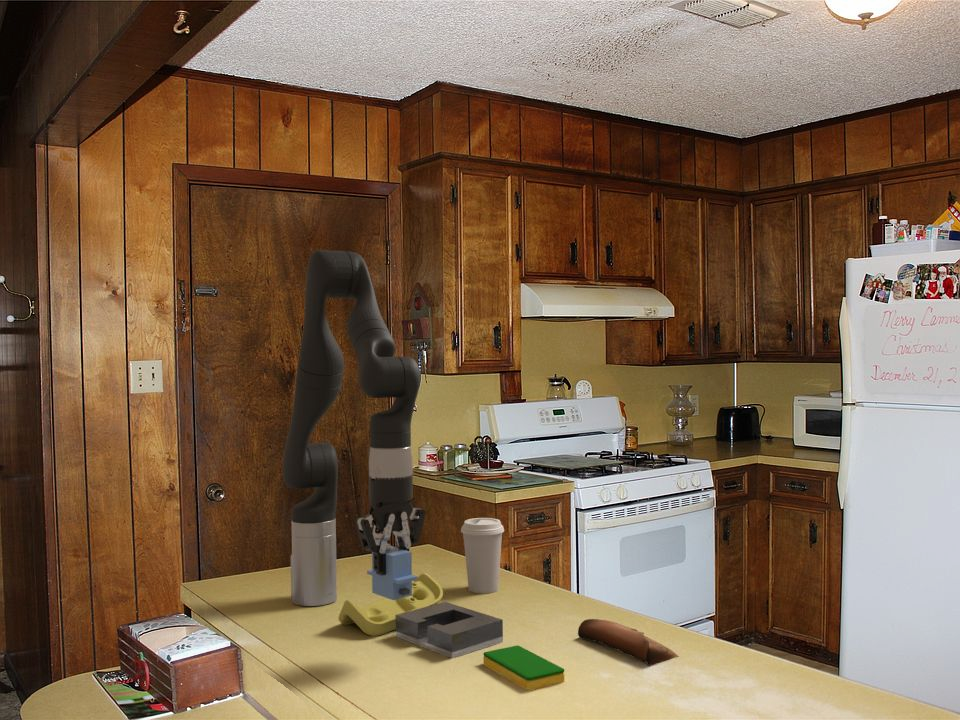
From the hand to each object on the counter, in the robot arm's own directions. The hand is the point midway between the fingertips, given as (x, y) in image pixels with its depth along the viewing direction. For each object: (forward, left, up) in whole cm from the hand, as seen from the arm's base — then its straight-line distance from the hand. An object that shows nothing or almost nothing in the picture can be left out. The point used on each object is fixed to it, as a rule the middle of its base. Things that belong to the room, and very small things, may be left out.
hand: (391, 571), depth 151 cm
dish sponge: (+21, +10, -15) cm, 28 cm away
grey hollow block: (0, +12, -15) cm, 19 cm away
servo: (0, 0, -4) cm, 4 cm away
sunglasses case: (+26, +32, -15) cm, 44 cm away
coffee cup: (-20, +39, -15) cm, 47 cm away
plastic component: (-15, +12, -15) cm, 25 cm away
